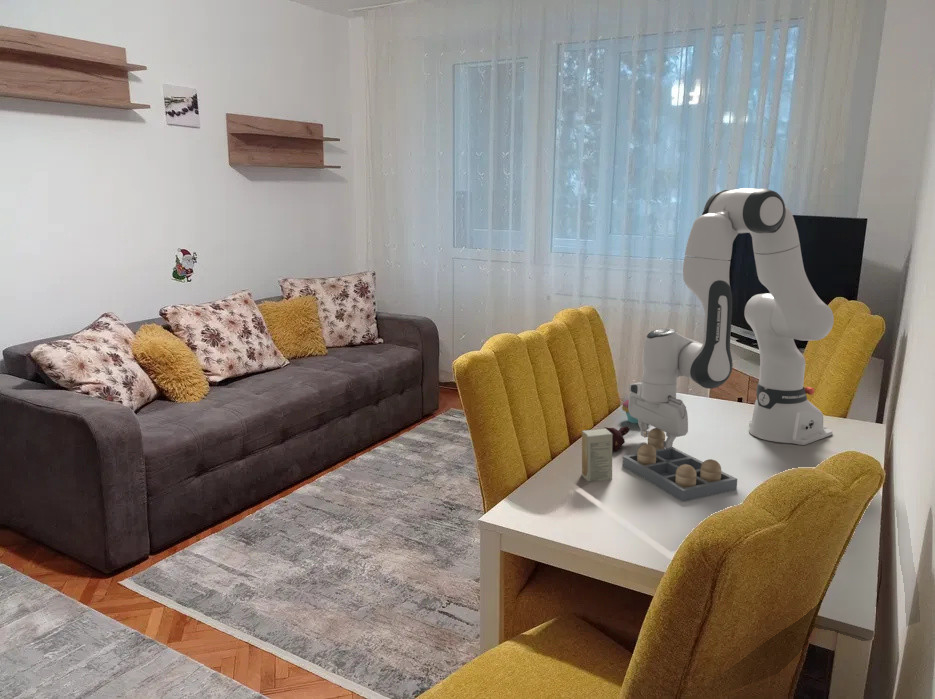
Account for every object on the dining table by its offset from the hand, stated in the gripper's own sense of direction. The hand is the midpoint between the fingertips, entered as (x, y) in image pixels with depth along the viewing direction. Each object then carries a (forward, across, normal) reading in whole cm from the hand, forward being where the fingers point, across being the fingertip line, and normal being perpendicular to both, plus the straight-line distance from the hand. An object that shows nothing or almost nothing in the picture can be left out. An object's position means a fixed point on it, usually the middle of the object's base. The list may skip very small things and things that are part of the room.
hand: (655, 442), depth 176 cm
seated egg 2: (+1, -25, +11) cm, 28 cm away
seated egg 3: (+1, -25, +4) cm, 25 cm away
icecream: (+3, +4, +11) cm, 13 cm away
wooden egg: (+2, 0, 0) cm, 2 cm away
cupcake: (+3, +22, -10) cm, 24 cm away
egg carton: (+2, -18, +8) cm, 20 cm away
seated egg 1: (+2, -11, +11) cm, 16 cm away
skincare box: (+3, -10, +25) cm, 27 cm away
